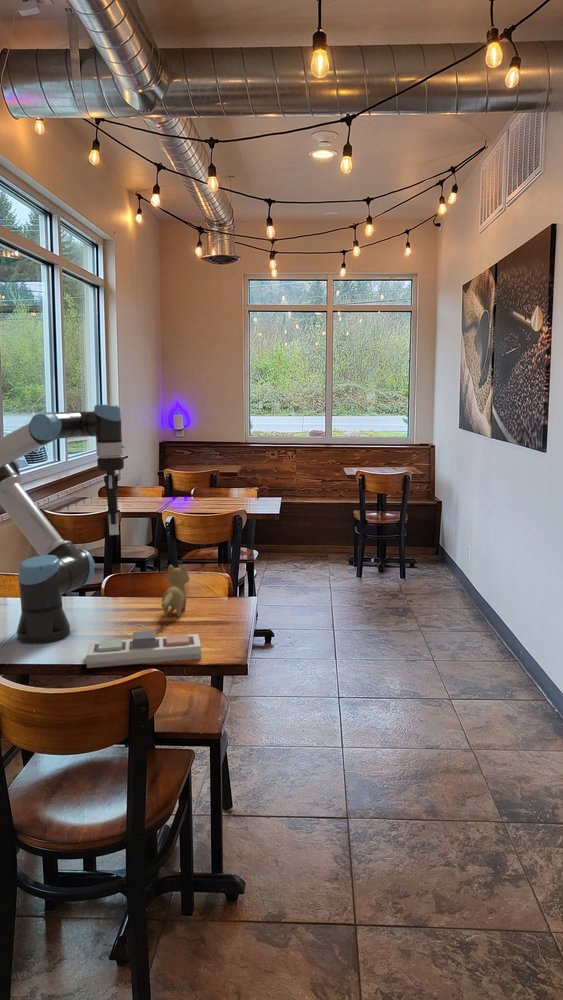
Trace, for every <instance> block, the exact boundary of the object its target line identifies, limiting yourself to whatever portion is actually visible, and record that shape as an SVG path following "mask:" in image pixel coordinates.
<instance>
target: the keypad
mask: <svg viewBox="0 0 563 1000" xmlns="http://www.w3.org/2000/svg"><path fill="white" fill-rule="evenodd" d="M166 636H167V635H165V636H163V637H161V636H155V641H156V646H151V647H138V648H133V638H131V639H130V638H129V639H128V638H127V639H122V644H123V649H122V650H121V651H108V652H98V647H99V643H100V641H91V642H88V646H87V650H86V654H85V659H86V660H85V661H86V669H90V668H91V669H92V668H94V669H95V668H104V667H116V666H129V665H139V664H151V663H152V664H154V663H163V662H164V661H166V662H176V661H175V660H177V661H190V660H199V659H202V647H201V646H202V645H201V640H200V636H199V633H193V634H188V637H189V645H183V646H171V647H167V641H166Z"/></svg>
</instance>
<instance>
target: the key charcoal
mask: <svg viewBox="0 0 563 1000" xmlns="http://www.w3.org/2000/svg"><path fill="white" fill-rule="evenodd" d="M132 636H133V637H132V639H133V648H138V647H151V646H156V641H155V637H156V629H152V630H144V631H143V630H142V631H133V632H132Z"/></svg>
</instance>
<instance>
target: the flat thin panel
mask: <svg viewBox="0 0 563 1000" xmlns="http://www.w3.org/2000/svg"><path fill="white" fill-rule="evenodd" d="M137 625H138V626H143V627H146V628H149V629H152V630H154V629H153V628H154V627H149V626H146V625H143V624H139V623H137V624H134V625H130V626H128V627H125V628H122V629H119V630H117V631H115V633H118V634H122V635H125V636H127V635H128V637H132V638H133V635H129V634H125V633H123V632H120V631H123V630H126V629H128V628H132V627H135V626H137ZM165 636H166V634H163V637H165Z"/></svg>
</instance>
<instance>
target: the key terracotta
mask: <svg viewBox="0 0 563 1000" xmlns="http://www.w3.org/2000/svg"><path fill="white" fill-rule="evenodd" d="M188 635H189V634H188V633H183V634H173V635H172V634H168V635H165V636H166V641H167V647H171V646H183V645H189V637H188Z"/></svg>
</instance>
